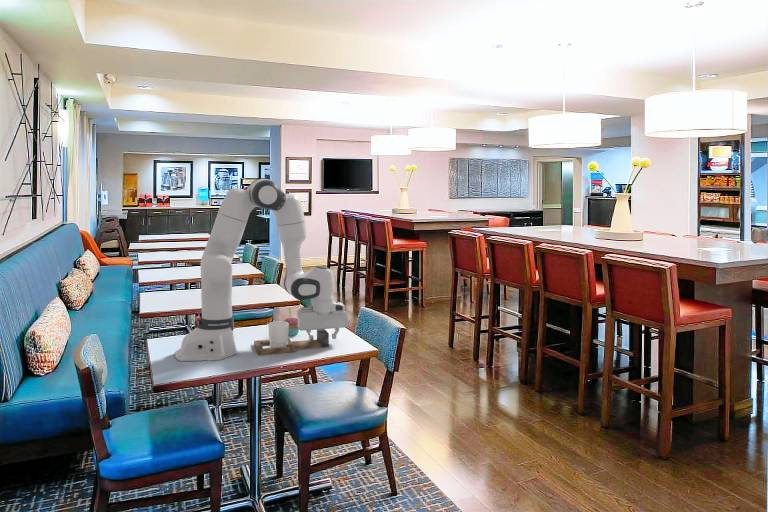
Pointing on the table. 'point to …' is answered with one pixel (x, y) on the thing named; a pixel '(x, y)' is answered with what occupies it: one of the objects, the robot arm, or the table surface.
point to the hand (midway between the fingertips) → (322, 339)
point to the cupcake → (292, 325)
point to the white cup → (278, 334)
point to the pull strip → (295, 344)
